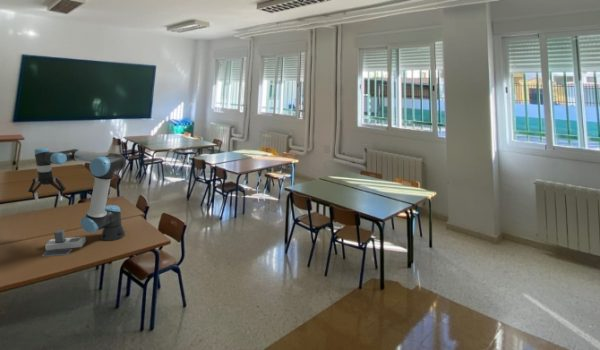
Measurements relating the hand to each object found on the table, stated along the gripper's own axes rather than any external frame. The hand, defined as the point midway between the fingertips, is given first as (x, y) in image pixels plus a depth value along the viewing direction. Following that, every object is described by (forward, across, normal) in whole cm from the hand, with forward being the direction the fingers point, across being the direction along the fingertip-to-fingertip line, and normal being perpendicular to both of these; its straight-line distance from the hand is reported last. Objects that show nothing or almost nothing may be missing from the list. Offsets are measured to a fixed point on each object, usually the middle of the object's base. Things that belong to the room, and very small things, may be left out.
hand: (49, 201), depth 215 cm
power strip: (+27, -12, +17) cm, 34 cm away
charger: (+26, -9, +17) cm, 32 cm away
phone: (+27, -10, +27) cm, 40 cm away
